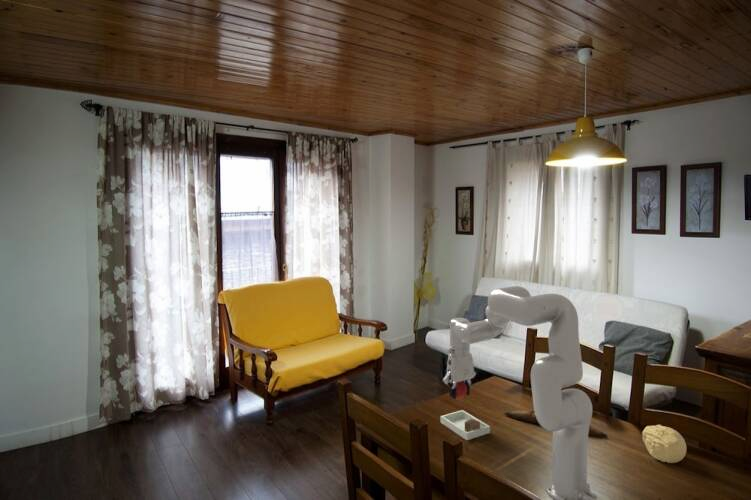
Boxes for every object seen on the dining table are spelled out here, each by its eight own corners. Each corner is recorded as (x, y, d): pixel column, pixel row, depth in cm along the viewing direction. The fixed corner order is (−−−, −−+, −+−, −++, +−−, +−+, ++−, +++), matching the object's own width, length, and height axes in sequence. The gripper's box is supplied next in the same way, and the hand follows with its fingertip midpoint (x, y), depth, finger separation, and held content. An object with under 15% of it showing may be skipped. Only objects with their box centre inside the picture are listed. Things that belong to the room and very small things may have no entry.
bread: (502, 418, 184) (502, 406, 184) (505, 413, 188) (505, 401, 188) (607, 441, 164) (607, 428, 164) (608, 435, 169) (608, 422, 168)
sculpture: (636, 452, 157) (637, 422, 156) (661, 446, 161) (662, 416, 160) (667, 470, 146) (669, 438, 145) (693, 462, 150) (695, 431, 149)
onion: (449, 400, 175) (449, 380, 175) (454, 394, 180) (454, 375, 180) (464, 403, 173) (464, 383, 172) (468, 397, 178) (469, 377, 177)
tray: (489, 434, 170) (489, 426, 170) (466, 442, 165) (466, 433, 165) (462, 417, 184) (462, 409, 184) (440, 424, 179) (440, 416, 179)
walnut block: (479, 432, 170) (480, 422, 170) (473, 436, 168) (473, 425, 168) (471, 428, 174) (471, 418, 173) (464, 432, 171) (464, 421, 171)
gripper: (447, 357, 167) (447, 404, 169) (483, 349, 175) (483, 394, 177) (435, 351, 174) (435, 396, 176) (470, 344, 182) (470, 387, 184)
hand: (459, 395), depth 176 cm, fingers closed on onion, 5 cm apart
